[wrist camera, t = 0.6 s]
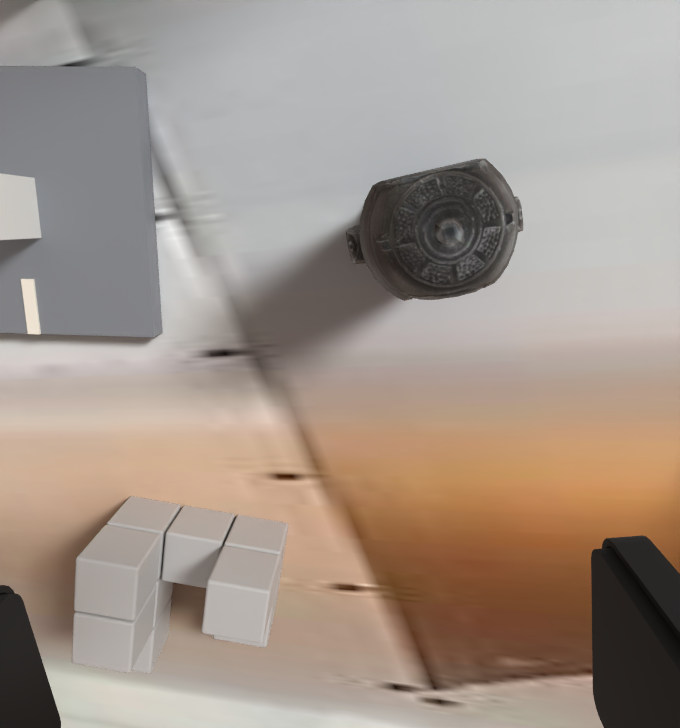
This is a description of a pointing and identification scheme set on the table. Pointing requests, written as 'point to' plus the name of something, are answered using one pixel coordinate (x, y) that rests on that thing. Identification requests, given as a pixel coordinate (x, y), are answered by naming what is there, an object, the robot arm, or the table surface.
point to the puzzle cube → (172, 580)
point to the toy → (438, 231)
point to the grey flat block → (77, 203)
